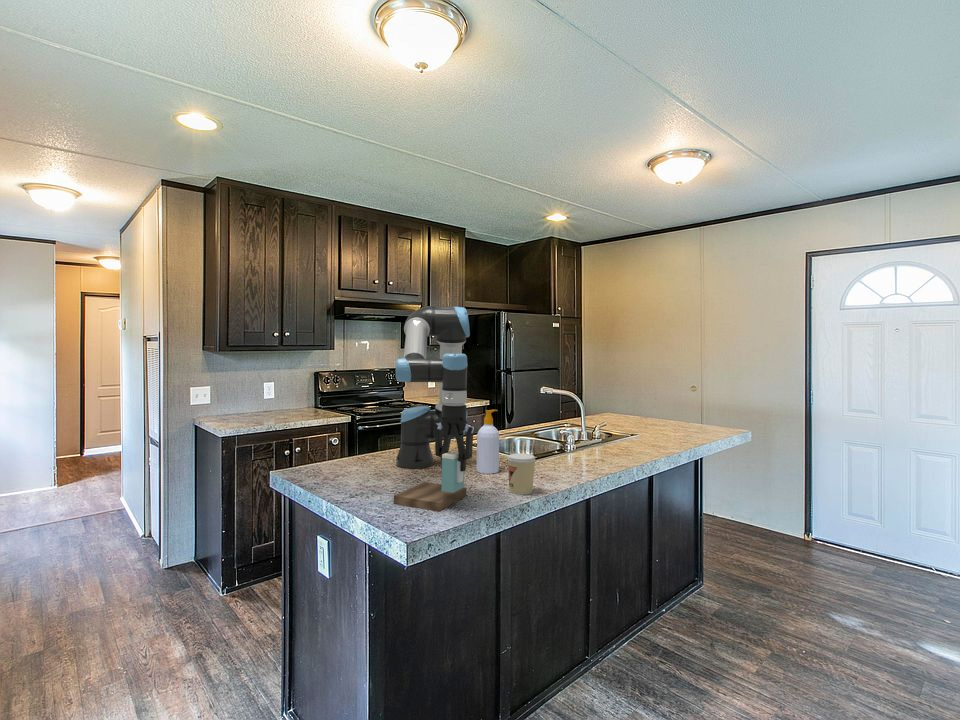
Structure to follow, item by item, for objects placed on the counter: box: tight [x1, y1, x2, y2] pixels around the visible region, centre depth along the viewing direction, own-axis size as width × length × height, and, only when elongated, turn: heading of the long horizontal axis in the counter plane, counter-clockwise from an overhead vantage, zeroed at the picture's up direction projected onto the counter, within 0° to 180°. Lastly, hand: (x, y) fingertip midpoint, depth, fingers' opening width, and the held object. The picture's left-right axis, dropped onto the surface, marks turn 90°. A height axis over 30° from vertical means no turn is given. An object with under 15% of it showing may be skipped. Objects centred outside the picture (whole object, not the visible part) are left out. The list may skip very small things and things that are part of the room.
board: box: [393, 481, 467, 512], centre depth 164 cm, size 16×18×2 cm
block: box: [441, 450, 465, 493], centre depth 157 cm, size 4×7×11 cm, turn 155°
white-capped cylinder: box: [507, 452, 536, 496], centre depth 174 cm, size 9×9×12 cm
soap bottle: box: [476, 409, 500, 475], centre depth 201 cm, size 9×9×24 cm
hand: (453, 480), depth 158 cm, fingers closed on block, 4 cm apart
